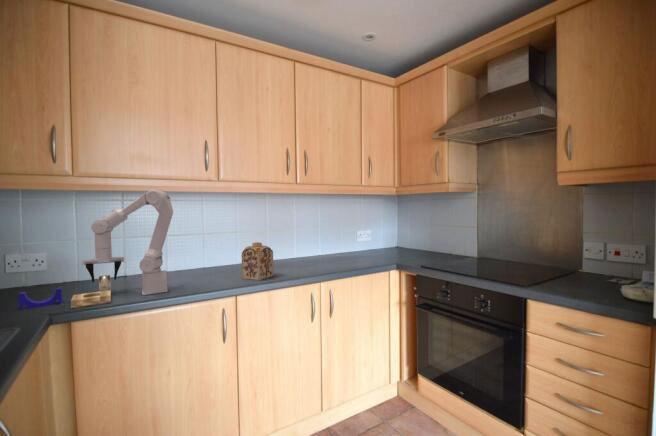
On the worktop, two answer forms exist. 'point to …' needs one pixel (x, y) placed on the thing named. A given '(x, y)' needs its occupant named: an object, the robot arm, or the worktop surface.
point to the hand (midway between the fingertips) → (104, 280)
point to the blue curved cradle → (32, 304)
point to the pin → (104, 283)
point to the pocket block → (91, 299)
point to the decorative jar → (257, 262)
